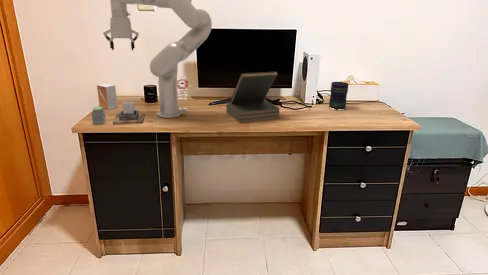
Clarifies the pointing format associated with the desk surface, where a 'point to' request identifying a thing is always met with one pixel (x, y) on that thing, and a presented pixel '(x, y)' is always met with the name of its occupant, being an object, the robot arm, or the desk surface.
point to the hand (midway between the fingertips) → (122, 49)
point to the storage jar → (338, 95)
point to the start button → (97, 108)
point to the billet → (128, 108)
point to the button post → (98, 117)
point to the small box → (107, 96)
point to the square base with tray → (129, 118)
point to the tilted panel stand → (253, 98)
